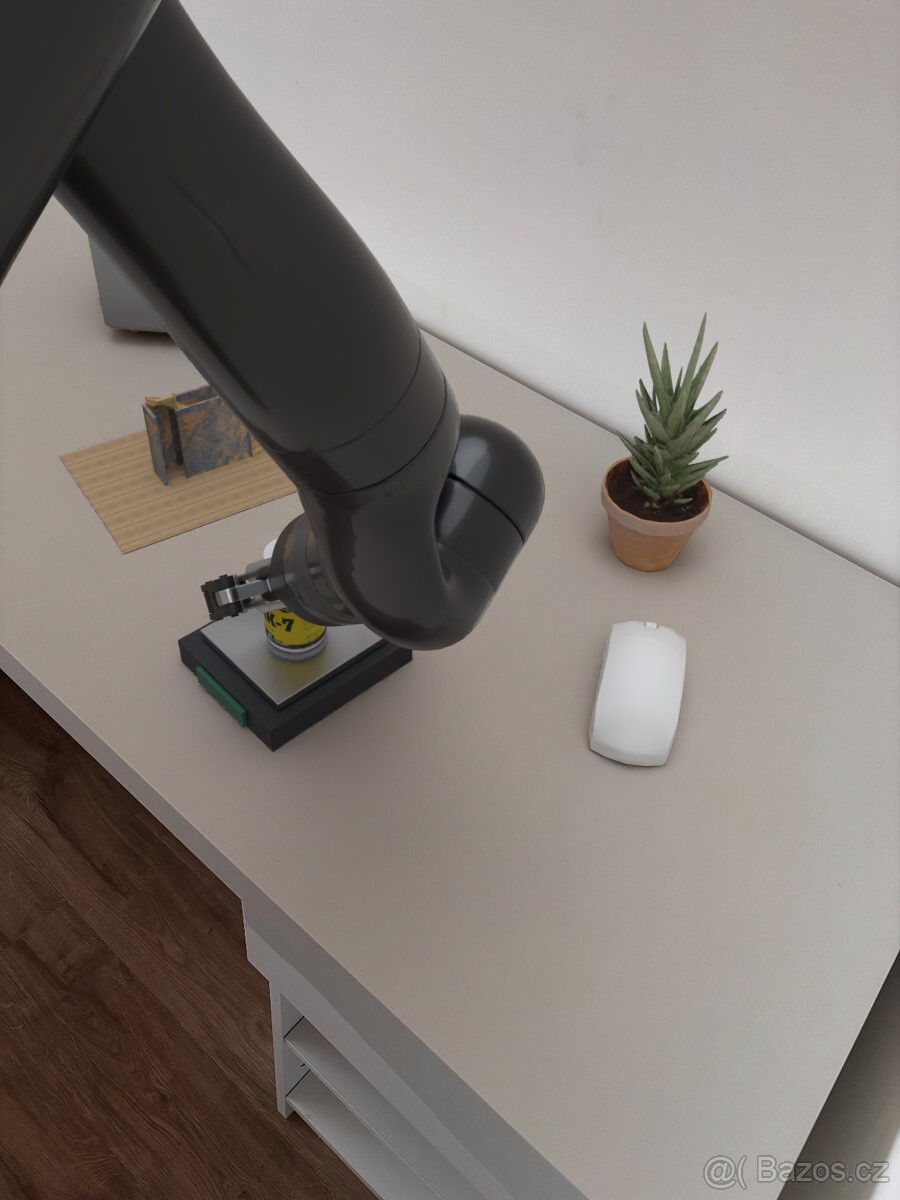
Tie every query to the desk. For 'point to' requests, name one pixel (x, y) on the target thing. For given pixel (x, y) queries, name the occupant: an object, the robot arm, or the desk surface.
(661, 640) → the computer mouse
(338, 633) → the scale pan
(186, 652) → the scale
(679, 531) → the potted plant
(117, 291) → the alarm clock
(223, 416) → the ruin model on sheet
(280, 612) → the supplement bottle
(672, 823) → the desk surface
